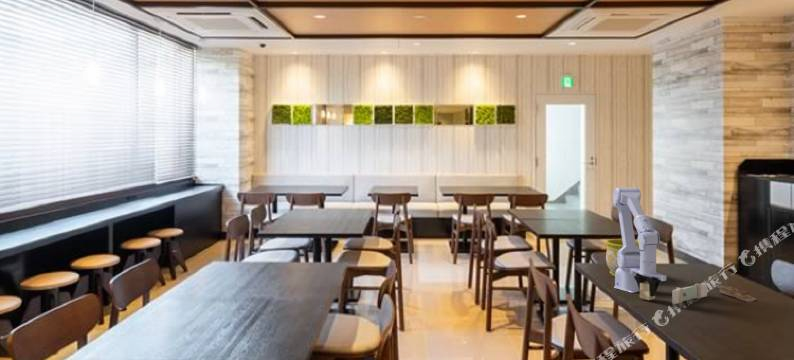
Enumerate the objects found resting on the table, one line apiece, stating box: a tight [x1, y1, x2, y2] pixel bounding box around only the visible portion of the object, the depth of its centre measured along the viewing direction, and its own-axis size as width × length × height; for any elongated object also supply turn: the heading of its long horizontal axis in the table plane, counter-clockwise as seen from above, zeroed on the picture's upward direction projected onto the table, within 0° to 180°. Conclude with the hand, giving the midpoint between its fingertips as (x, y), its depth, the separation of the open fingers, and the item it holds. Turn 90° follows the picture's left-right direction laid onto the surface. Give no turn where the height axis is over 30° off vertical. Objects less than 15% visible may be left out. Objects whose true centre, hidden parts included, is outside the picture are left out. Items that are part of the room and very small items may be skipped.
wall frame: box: [671, 282, 708, 305], centre depth 202 cm, size 2×21×6 cm, turn 118°
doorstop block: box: [639, 281, 656, 301], centre depth 202 cm, size 4×4×6 cm
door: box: [681, 285, 698, 302], centre depth 202 cm, size 2×10×5 cm, turn 118°
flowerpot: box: [605, 238, 639, 278], centre depth 239 cm, size 18×18×16 cm
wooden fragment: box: [714, 283, 758, 303], centre depth 211 cm, size 26×11×1 cm, turn 169°
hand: (647, 294), depth 202 cm, fingers closed on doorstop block, 4 cm apart
